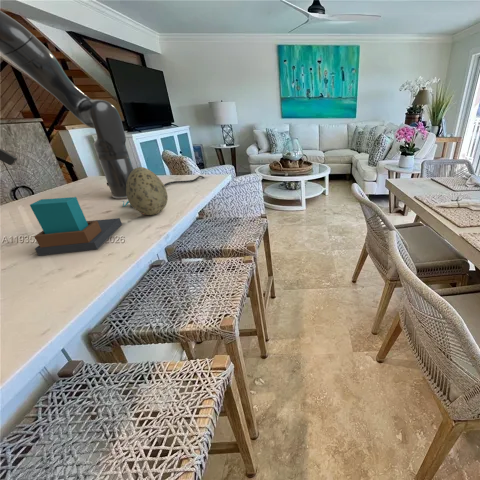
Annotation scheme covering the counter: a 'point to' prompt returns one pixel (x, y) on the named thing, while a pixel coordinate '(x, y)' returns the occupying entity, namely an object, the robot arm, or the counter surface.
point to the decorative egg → (146, 191)
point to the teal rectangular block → (59, 215)
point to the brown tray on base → (77, 238)
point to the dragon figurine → (126, 203)
